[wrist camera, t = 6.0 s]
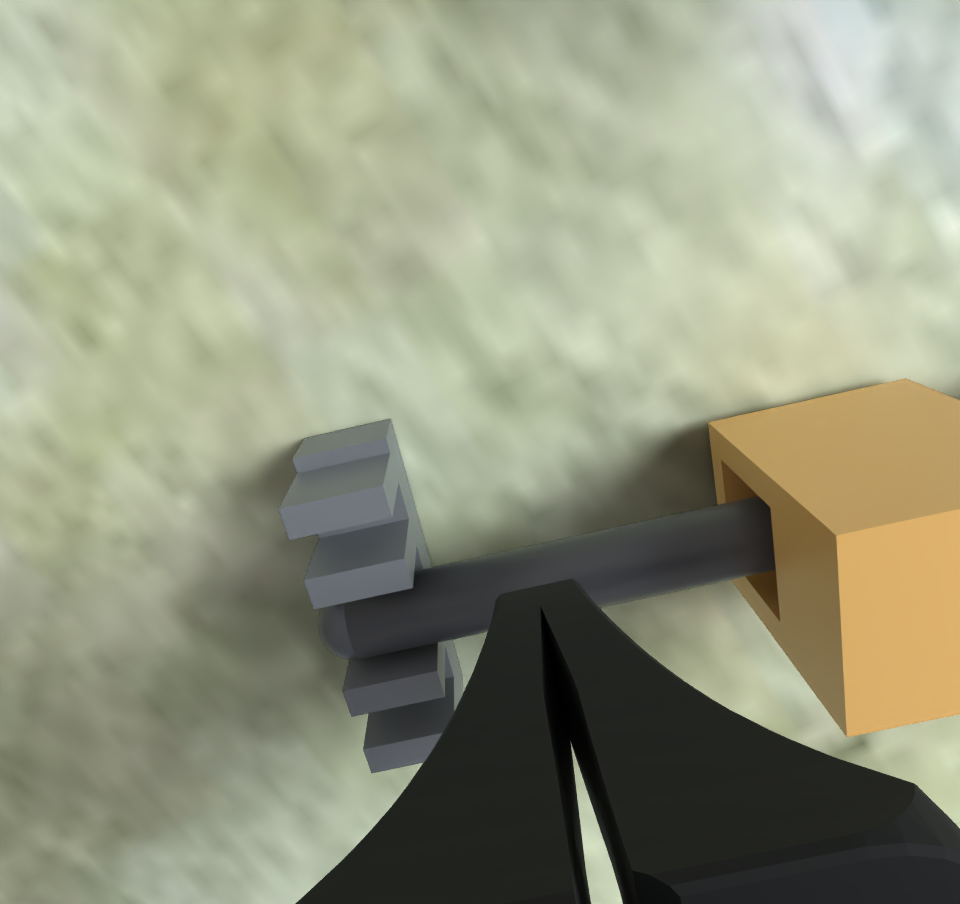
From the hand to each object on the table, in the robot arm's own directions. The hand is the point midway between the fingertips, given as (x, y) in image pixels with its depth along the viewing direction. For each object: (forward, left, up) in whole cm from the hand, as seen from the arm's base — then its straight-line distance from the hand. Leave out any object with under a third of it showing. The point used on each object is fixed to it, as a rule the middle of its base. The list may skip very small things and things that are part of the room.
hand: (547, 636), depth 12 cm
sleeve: (+6, 0, -4) cm, 7 cm away
